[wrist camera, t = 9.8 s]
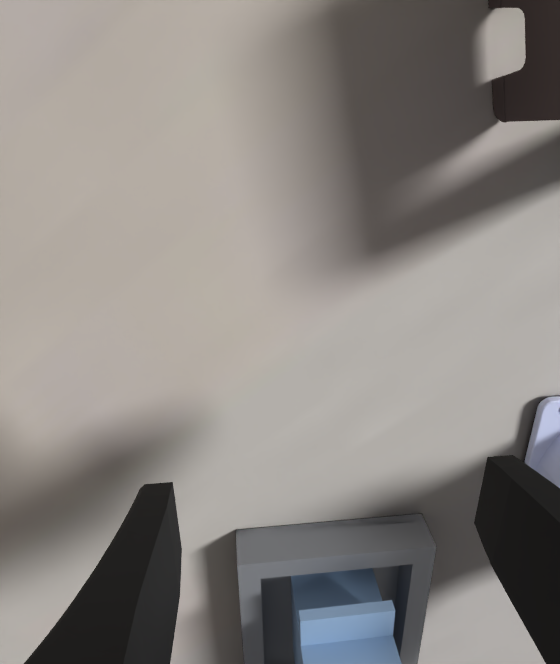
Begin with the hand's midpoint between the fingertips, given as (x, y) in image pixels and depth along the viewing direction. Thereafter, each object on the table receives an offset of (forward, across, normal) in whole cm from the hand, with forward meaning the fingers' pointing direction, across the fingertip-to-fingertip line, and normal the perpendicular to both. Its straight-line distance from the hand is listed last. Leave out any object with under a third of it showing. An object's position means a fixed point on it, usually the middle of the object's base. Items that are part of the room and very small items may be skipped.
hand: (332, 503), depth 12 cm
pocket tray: (+9, -2, +16) cm, 19 cm away
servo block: (+9, -2, +16) cm, 18 cm away
